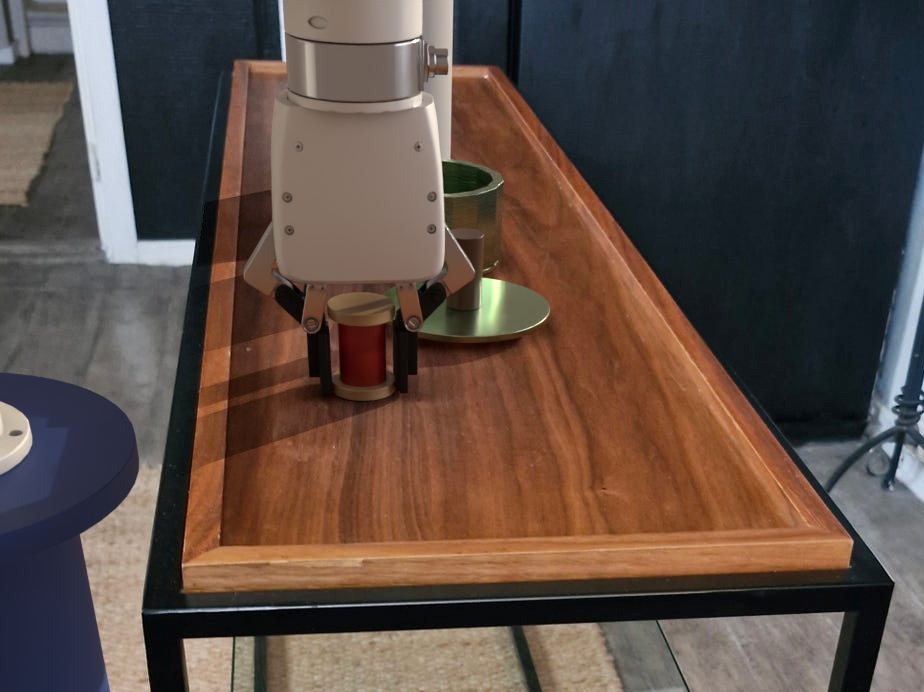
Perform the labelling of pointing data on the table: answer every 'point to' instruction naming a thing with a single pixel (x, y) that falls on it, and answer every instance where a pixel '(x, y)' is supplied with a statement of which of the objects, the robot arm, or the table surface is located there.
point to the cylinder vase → (440, 87)
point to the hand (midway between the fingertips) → (363, 383)
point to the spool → (362, 345)
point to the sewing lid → (481, 304)
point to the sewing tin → (474, 204)
